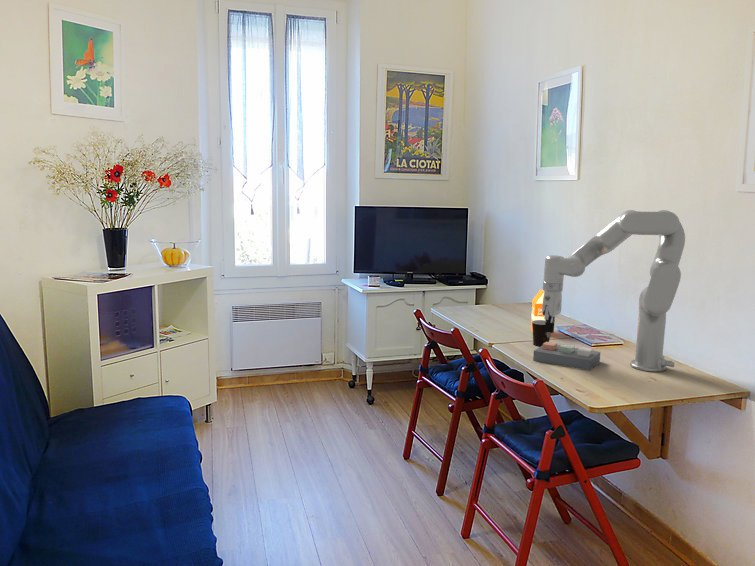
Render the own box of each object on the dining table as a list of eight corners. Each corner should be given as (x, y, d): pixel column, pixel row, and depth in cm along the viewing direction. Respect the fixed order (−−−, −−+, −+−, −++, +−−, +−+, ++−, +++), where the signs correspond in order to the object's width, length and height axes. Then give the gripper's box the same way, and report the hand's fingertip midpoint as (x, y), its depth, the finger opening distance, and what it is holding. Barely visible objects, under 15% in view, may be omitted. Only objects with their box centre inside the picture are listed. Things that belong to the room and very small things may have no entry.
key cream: (592, 356, 238) (592, 349, 238) (588, 359, 235) (589, 351, 234) (580, 355, 241) (581, 347, 240) (577, 357, 237) (577, 349, 237)
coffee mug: (537, 347, 261) (538, 325, 259) (527, 342, 269) (528, 320, 267) (561, 346, 264) (562, 323, 262) (550, 341, 272) (551, 319, 271)
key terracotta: (556, 351, 246) (557, 343, 246) (553, 353, 243) (553, 345, 242) (546, 349, 249) (546, 341, 248) (542, 351, 245) (542, 343, 245)
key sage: (574, 353, 242) (574, 346, 242) (570, 356, 239) (571, 348, 238) (563, 352, 245) (563, 344, 244) (559, 354, 241) (560, 346, 241)
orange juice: (547, 330, 292) (549, 289, 288) (550, 334, 283) (552, 292, 280) (530, 329, 293) (532, 288, 289) (533, 334, 284) (535, 292, 281)
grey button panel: (599, 361, 242) (600, 352, 241) (589, 370, 230) (590, 360, 230) (545, 352, 254) (546, 343, 253) (533, 360, 243) (533, 350, 242)
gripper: (555, 290, 233) (551, 337, 236) (568, 285, 245) (564, 330, 249) (536, 288, 237) (533, 333, 241) (550, 283, 249) (546, 326, 253)
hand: (549, 331), depth 245 cm, fingers closed
